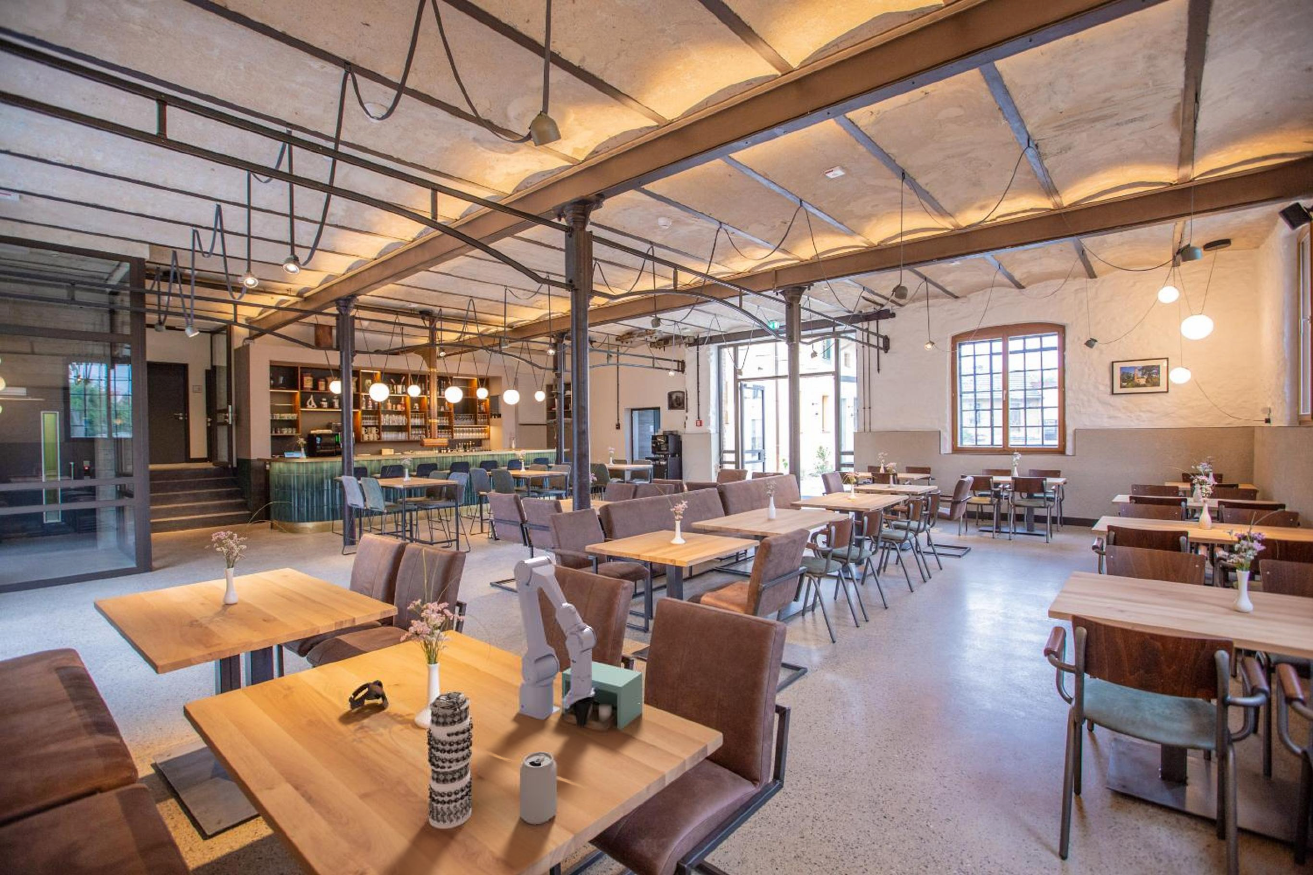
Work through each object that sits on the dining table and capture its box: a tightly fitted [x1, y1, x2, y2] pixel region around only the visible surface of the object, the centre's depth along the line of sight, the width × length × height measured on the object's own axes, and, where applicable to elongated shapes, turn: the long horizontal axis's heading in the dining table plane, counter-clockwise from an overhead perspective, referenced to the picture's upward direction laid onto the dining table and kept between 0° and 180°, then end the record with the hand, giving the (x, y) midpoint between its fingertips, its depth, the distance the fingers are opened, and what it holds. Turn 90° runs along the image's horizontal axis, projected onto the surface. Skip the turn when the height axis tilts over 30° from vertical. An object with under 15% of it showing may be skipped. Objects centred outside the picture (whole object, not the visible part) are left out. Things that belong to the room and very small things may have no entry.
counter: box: [561, 660, 643, 730], centre depth 170 cm, size 20×11×12 cm, turn 60°
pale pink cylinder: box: [598, 703, 613, 723], centre depth 166 cm, size 4×4×4 cm
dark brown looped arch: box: [348, 679, 390, 710], centre depth 176 cm, size 12×10×8 cm
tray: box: [563, 702, 617, 733], centre depth 166 cm, size 13×9×2 cm
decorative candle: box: [426, 691, 474, 830], centre depth 126 cm, size 9×9×25 cm
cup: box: [587, 704, 593, 718], centre depth 169 cm, size 4×4×4 cm
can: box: [519, 751, 558, 825], centre depth 126 cm, size 8×8×12 cm
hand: (581, 724), depth 162 cm, fingers closed
